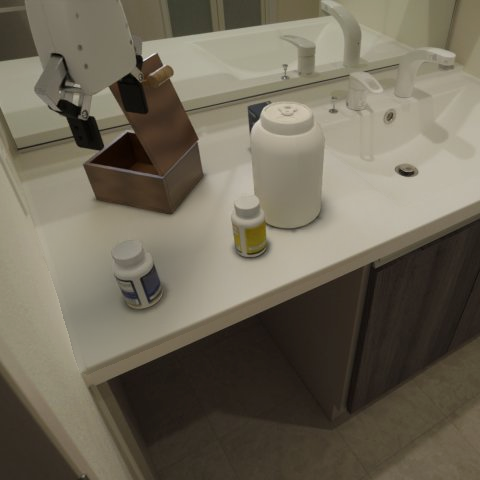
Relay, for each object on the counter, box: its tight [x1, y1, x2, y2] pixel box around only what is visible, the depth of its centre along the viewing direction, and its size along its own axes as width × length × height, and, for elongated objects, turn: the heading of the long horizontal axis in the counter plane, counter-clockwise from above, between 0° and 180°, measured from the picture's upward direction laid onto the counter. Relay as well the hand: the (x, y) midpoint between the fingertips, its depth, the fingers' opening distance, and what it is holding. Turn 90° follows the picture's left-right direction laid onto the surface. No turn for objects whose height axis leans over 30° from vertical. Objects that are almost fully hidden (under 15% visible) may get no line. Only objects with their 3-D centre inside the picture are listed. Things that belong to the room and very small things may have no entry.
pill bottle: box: [110, 238, 164, 310], centre depth 59 cm, size 5×5×10 cm
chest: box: [82, 129, 204, 215], centre depth 80 cm, size 16×14×8 cm
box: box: [247, 100, 273, 136], centre depth 91 cm, size 8×6×11 cm
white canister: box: [249, 100, 326, 229], centre depth 73 cm, size 12×12×20 cm
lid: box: [107, 52, 200, 177], centre depth 71 cm, size 16×14×5 cm
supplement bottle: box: [230, 193, 268, 258], centre depth 68 cm, size 5×5×10 cm
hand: (115, 128), depth 51 cm, fingers open, 9 cm apart
